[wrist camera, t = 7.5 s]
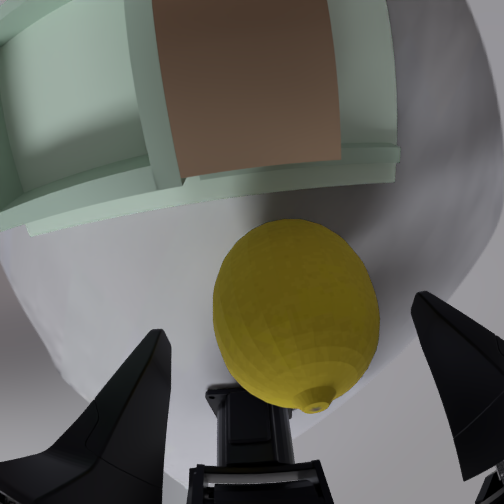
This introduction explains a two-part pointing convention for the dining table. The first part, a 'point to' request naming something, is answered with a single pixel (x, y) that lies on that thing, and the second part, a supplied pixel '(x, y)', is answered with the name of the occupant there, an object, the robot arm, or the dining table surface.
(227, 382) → the dining table surface
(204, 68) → the tan rectangular block
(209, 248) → the dining table surface
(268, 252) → the lemon
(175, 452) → the dining table surface
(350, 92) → the tray
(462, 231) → the dining table surface
